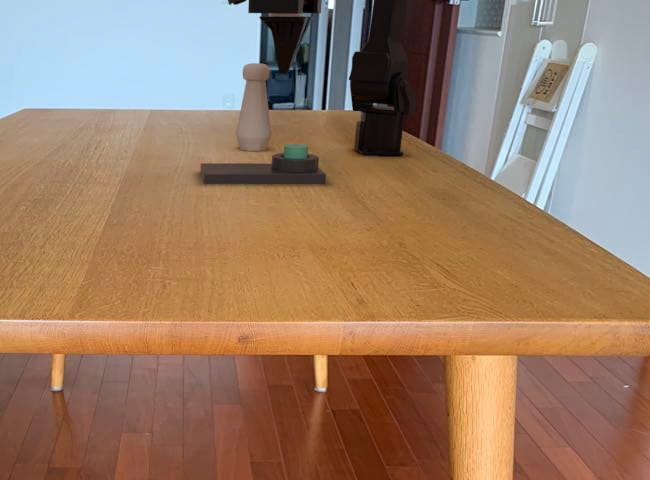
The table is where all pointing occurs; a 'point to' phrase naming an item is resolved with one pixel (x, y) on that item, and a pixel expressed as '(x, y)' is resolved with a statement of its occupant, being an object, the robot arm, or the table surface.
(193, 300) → the table surface
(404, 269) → the table surface
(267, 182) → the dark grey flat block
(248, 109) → the salt shaker
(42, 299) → the table surface
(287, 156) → the button
